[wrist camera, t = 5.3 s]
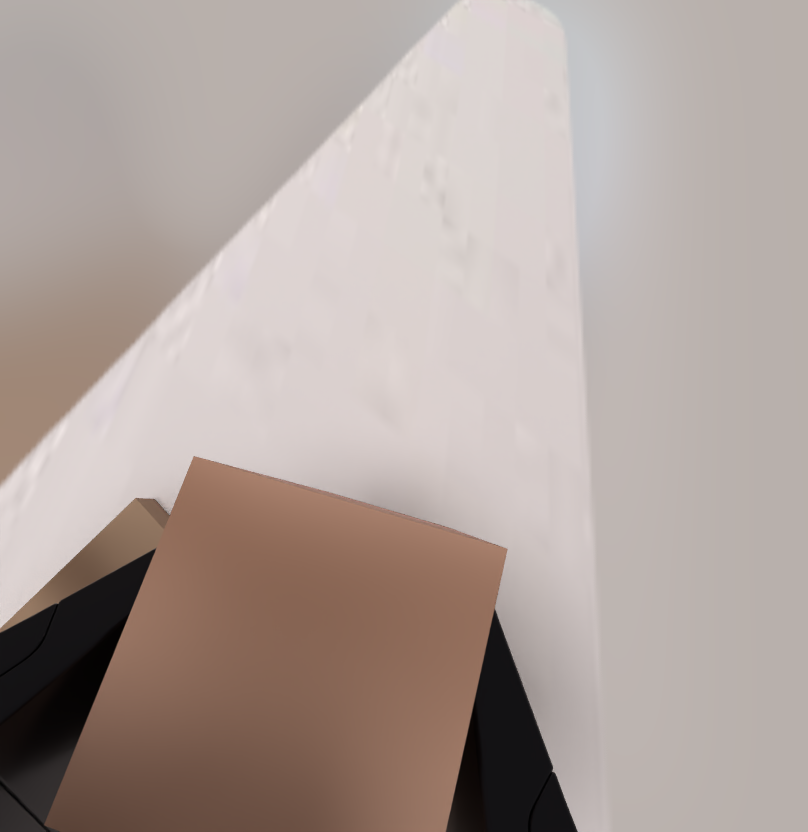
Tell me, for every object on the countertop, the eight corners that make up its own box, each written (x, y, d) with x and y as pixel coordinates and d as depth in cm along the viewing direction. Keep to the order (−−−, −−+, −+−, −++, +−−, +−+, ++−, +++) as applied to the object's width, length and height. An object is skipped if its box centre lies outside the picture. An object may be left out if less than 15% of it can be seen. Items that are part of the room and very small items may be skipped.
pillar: (414, 667, 15) (414, 972, 5) (283, 624, 15) (43, 825, 5) (449, 527, 16) (507, 548, 6) (326, 491, 16) (194, 456, 6)
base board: (122, 816, 19) (97, 841, 17) (-1, 650, 20) (-34, 660, 19) (281, 639, 20) (271, 649, 19) (154, 499, 22) (135, 498, 20)
